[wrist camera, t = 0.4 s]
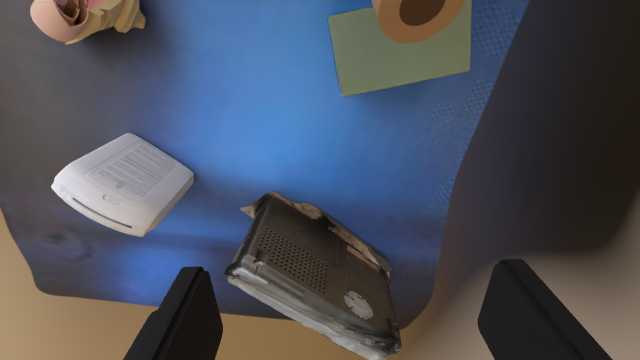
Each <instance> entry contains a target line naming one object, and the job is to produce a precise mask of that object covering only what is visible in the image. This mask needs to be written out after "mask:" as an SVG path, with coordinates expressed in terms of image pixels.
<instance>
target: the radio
mask: <svg viewBox="0 0 640 360" xmlns="http://www.w3.org/2000/svg"><path fill="white" fill-rule="evenodd" d="M240 209H241V210H242V211H244V212H245V213H246V214H248V215H249V216H250V217H252V218H253V219H254V220H253V222H252V224H251V225H250V228H249V230H248V232H247V234H246V236H245V239H244V241H243V243H242V244H241V246H240V247H239V249H238V251H237V253H236V255H235V257H234V260H233V262H232V264H231V265H229V266H228V267H227V268H226V270H225V273H224V274H226V275H227V280H228V282H229V283H231V284H233V285H236V286H237V287H239V288H240V289H242V290H243V291H245V292H246V293H247V294H249V295H251V296H253V297H255V298H257V299H258V300H260V301H261V302H264V303H265V304H267V305H270V306H271V307H273V308H274V309H276V310H278V311H279V312H281V313H283V314H284V315H286V316H288V317H290V318H292V319H294V320H296V321H298V322H300V323H302V324H303V325H304V326H305V327H308V328H312V329H314V330H316V331H318V332H320V333H321V334H322V335H324V336H325V337H327V338H329V339H330V340H332V341H333V342H334V343H335V344H337V345H339V346H341V347H342V348H344V349H346V350H349V351H351V352H354V353H357V354H359V355H361V356H363V357H365V358H366V359H368V360H385V359H386V358H387V357H389V356H391V355H392V354H395V353H397V352H398V351H399V350H400V349H401V347H402V345H401V339H400V333H399V328H398V324H397V322H396V318H395V314H394V307H393V303H392V299H391V296H390V291H389V287H388V284H387V281H389V282H390V271H391V267H390V265H389V263H388V259H386V258H385V257H384V256H382V255H381V254H380V253H378V252H377V251H375V250H374V249H373V248H371V247H370V246H369V245H367V244H366V243H365V242H363V241H362V240H360V239H359V238H358V237H356V236H355V235H354V234H352V233H351V232H350V231H348V230H347V229H345V228H344V227H343V226H341V225H340V224H339V223H337V222H336V221H335V220H333V219H332V218H330V217H329V216H328V215H326V214H325V213H324V212H322V211H321V210H320V209H318V208H317V207H315V206H314V205H309V204H307V203H303V204H302V203H293V202H292V201H289V200H287V199H285V198H284V197H282V196H281V195H279V194H278V193H275V192H271V193H268V194H265V195H264V196H263V197H262V198H261V199H259V200H258V201H257V202H254V203H252V205H250V206H248V207H243V208H240Z"/></svg>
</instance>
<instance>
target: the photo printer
mask: <svg viewBox="0 0 640 360" xmlns="http://www.w3.org/2000/svg"><path fill="white" fill-rule="evenodd" d="M193 182H194V173H193V172H192V171H191V170H190V169H188V168H187V167H186V166H184V165H183V164H181V163H180V162H178V161H177V160H175V159H174V158H172V157H171V156H169V155H167V154H166V153H164V152H163V151H161V150H159V149H158V148H156V147H155V146H153V145H151V144H150V143H148V142H147V141H145V140H143V139H142V138H140V137H138V136H136V135H134V134H131V133H126V134H124V135H122V136H120V137H119V138H117V139H115V140H113V141H111V142H109V143H107V144H105V145H104V146H102V147H100V148H98V149H96V150H94V151H92V152H90V153H88V154H86V155H84V156H83V157H81V158H79V159H77V160H75V161H73V162H71V163H70V164H69V165H67V166H66V167H65V168H64V169H62V170H61V171H60V172H59V173H58V175H57V176H56V177H55V179H54V183H53V185H52V186H51V188H52V189H53V190H54V191H55V193H56V194H57V195H58V196H59V197H60V198H61V199H63V200H64V201H65V202H66V203H67V204H69V205H70V206H71V207H73V208H74V209H76V210H77V211H79V212H80V213H82V214H83V215H85V216H87V217H89V218H90V219H92V220H94V221H96V222H98V223H100V224H103V225H105V226H107V227H109V228H112V229H115V230H117V231H120V232H123V233H126V234H130V235H134V236H140V237H144V236H145V235H146V234H147V233H148V232H149V231H151V230H153V229H154V228H156V227H157V226H158V225H159V224H160V223H161V221H162V220H163V219H164V218H165V217H166V215H167V214H168V213H169V212H170V211H171V209H172V208H173V207H174V206H175V205H176V204H177V202H178V201H179V200H180V199H181V198H182V196H183V195H184V194H185V193H186V192H187V191H188V189H189V188H190V187H191V186H192V184H193Z"/></svg>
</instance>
